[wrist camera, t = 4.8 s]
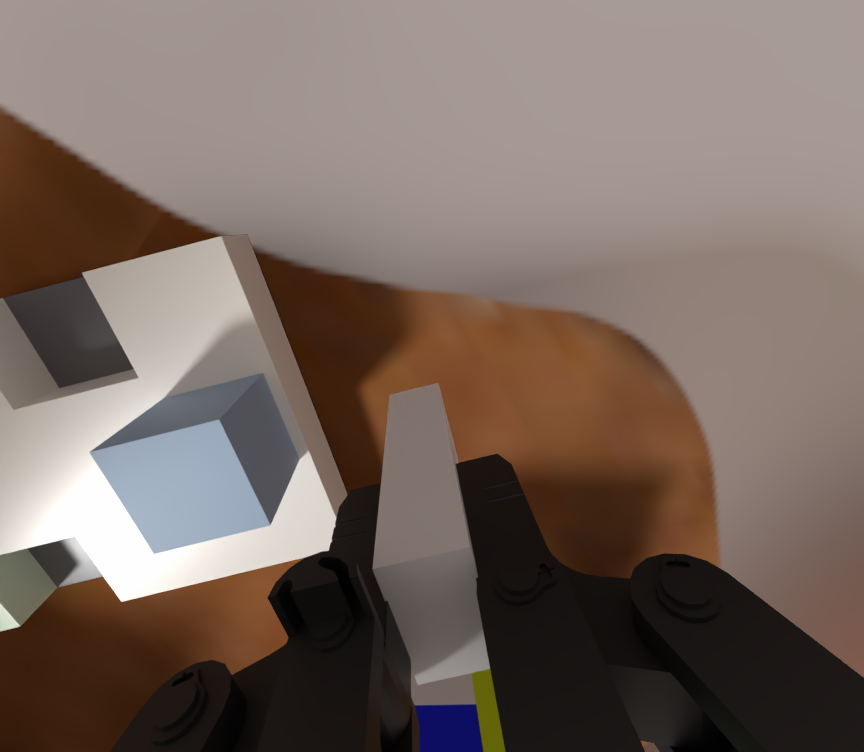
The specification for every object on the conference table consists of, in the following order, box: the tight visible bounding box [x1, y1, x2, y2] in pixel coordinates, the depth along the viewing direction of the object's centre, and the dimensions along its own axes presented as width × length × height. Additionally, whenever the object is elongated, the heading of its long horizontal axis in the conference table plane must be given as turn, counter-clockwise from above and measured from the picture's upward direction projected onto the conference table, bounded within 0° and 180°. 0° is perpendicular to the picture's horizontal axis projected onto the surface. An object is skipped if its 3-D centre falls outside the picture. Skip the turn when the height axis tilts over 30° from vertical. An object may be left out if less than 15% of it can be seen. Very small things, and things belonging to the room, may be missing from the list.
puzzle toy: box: [411, 669, 505, 752], centre depth 20 cm, size 10×10×10 cm
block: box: [89, 373, 300, 554], centre depth 15 cm, size 4×4×4 cm
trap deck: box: [0, 234, 348, 631], centre depth 18 cm, size 21×14×2 cm, turn 104°
